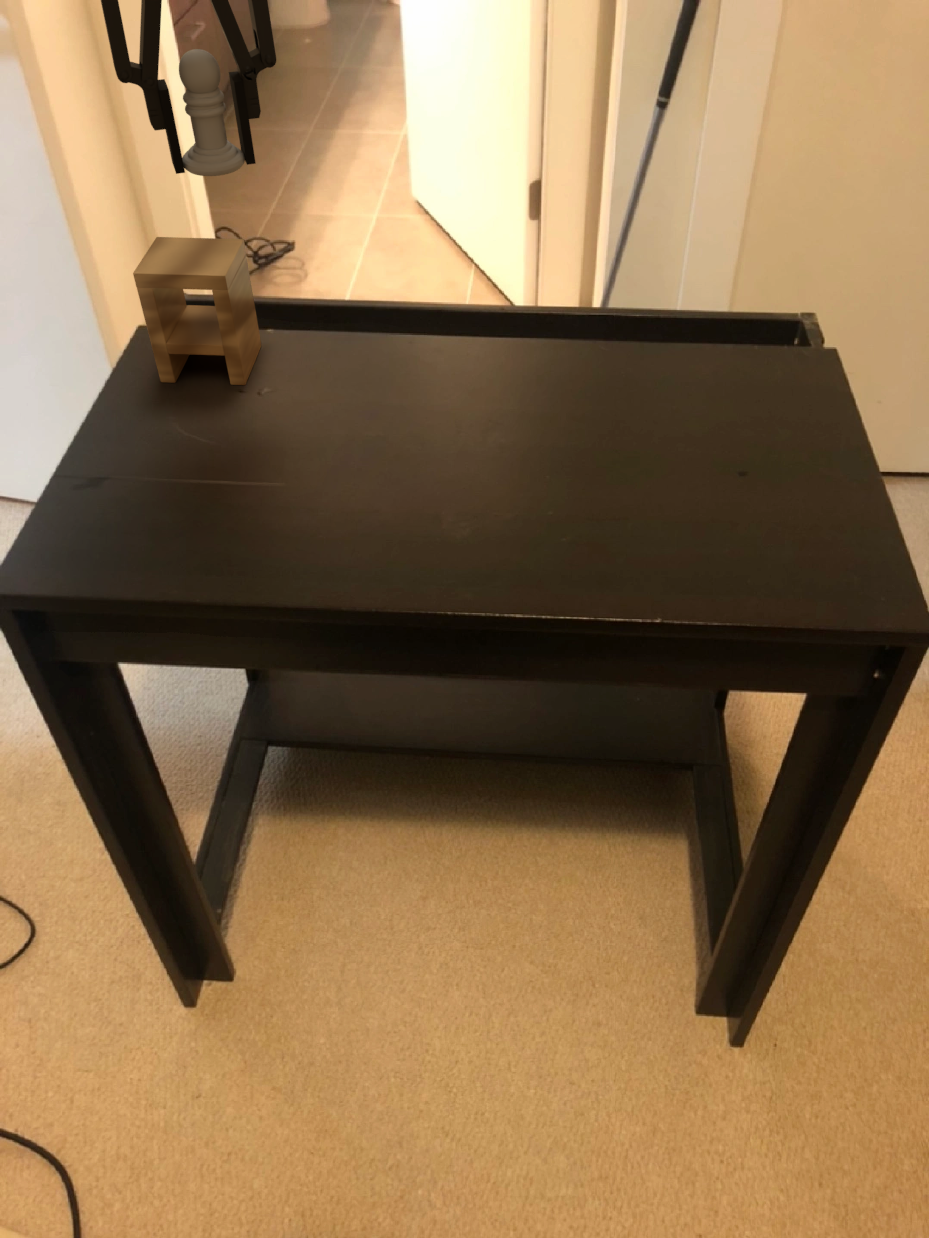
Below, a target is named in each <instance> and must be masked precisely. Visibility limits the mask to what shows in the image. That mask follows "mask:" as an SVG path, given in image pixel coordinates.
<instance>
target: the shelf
mask: <svg viewBox="0 0 929 1238" xmlns="http://www.w3.org/2000/svg"><path fill="white" fill-rule="evenodd" d="M248 262H249V261H248V257H247V249H246V243H245V238H217V237H216V238H212V237H210V238H209V237H206V238H205V237H179V236H178V237H173V236H156V238H154V240H153V242H152V243H151V245H150V246H149V247H148V250H146V252H145V254H144V256H143V257H142V259H141V260H140V262H139V263H138V265H137V266H136V268H135V270H133V272H132V276H133V279H134V283H135V287H136V290H137V294H138V298H139V299H138V300H139V302H140V307H141V310H142V314H143V318H144V321H145V326H146V329H147V333H148V338H149V342H150V344H151V349H152V353H153V357H154V361H155V366H156V368H157V373H158V376H159V381H160V383H170V384H171V383H172V384H175V383H176V382H177V381H178V379H179V377H180V374H181V373H182V371H183V369H184V366H185V365H186V363H187V361H188V358H189V357H190V355H191V356H192V355H193V356H195V355H197V356H224V358H225V363H226V369H227V373H228V378H229V383H230V385H232V386H233V385H234V386H246V385H247V382H248V379H249V377H250V375H251V373H252V370H253V367H254V365H255V362H256V360H257V358H258V355H259V353H260V350H261V348H262V341H261V336H260V328H259V323H258V316H257V311H256V304H255V299H254V293H253V292H254V291H253V286H252V281H251V275H250V268H249V263H248ZM184 290H198V291H199V290H200V291H201V290H203V291H211V293H212V297H213V303H214V305H197V304H196V305H194V304H187V301H186V296H185V292H184Z"/></svg>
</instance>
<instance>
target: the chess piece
mask: <svg viewBox="0 0 929 1238" xmlns="http://www.w3.org/2000/svg"><path fill="white" fill-rule="evenodd" d="M178 75H179V79H180V81H181V84H182V85H183V87H184V88H185V89H186V90H185V92H184V93H183V95H182V100H183V102H184V103H185V105H184V111H185V113H186V115H188V116H189V117H190V122H191V128H192V133H193V138H194V144H193V145H192V146H190V147H189V148H188V150H187V151H186V152H185V153H184V154H183V155H182V160H183V165H184V170H185V171H187V172H189V173H190V174H192V175H196V176H200V177H220V176H224V175H229V174H232V173H234V172H236V171H238V170H240V169H241V168H242V167H243V166H244V164H245V163H246V162H245V157H244V154H243V152H242V151H241V148H239V147H237V146H236V145H235V144H234V143H232V142H231V141H229V140H228V136H227V130H226V125H225V119H224V113H225V112H226V109H227V106H226V103H225V102H223V101H224V99H225V94H224V92H223V91H222V90H221V89H220V87H219V85H220V82H221V68H220V65H219V63H218V60H217V59H216V57H215V56H214V55H213V54H212V53H210V52H209V51H207V50H205V49H202V48H201V49H200V48H194V49H190V50H188V51H186V52H185V53H184V54H183V55H182V56H181V58H180V60H179V63H178Z"/></svg>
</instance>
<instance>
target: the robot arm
mask: <svg viewBox="0 0 929 1238" xmlns="http://www.w3.org/2000/svg"><path fill="white" fill-rule="evenodd" d="M140 1H141V3H140V5H141V6H140V27H139V28H140V30H139V32H140V33H139V55H138V59H139V60H138V63H137V62H133V61H131V60H130V53H129V50H128V44H127V38H126V33H125V28H124V24H123V19H122V14H121V8H120V3H119V0H100V5H101V9H102V13H103V20H104V23H105V28H106V34H107V38H108V39H107V40H108V42H109V48H110V53H111V57H112V63H113V68H114V71H115V75H116V78H117V79H118V81H119V82H121V83H122V84H132V85H136V86H138V87H139V88H141V91H142V93H143V97H144V98H143V99H144V101H145V102H144V103H145V107H146V110H147V111H146V112H147V116H148V120H149V123H150V125H151V127H152V129H153V130H154V131H162V130H163V131H164V130H165V134H166V139H167V144H168V149H169V154H170V158H171V163H172V166H173V169H174V172H175V174H176V175H177V174H185V173H186V169H185V168H184V165H183V160H182V157H183V155H182V149H181V145H180V140H179V135H178V130H177V126H176V120H175V119H176V118H175V115H174V109H173V104H172V101H171V94H170V90H169V87H168V85H167V82H166V79H165V78H164V79H159V66H160V65H159V62H160V44H161V43H160V42H161V26H162V25H161V22H162V3H163V2H162V1H163V0H140ZM209 1H210V4H211V6H212V9H213V11H214V14H215V16H216V18H217V21H218V23H219V26H220V28H221V31H222V33H223V35H224V38H225V40H226V43H227V45H228V48H229V50H230V53H231V55H232V57H233V60H234V63H235V64H236V66H237V70H236V71H229V72H228V77H229V83H230V90H231V96H232V103H233V109H234V115H235V121H236V127H237V134H238V139H239V147H240V150H241V151H242V152H243V154H244V157H245V162H244V163H245V164H246V166H247V165H255V164H256V163H257V162H256V156H255V150H254V143H253V137H252V130H251V124H250V120H253V119H260V117H261V112H262V110H261V104H260V97H259V90H258V83H257V78H258V75H259V73H260V72H262V71H264V70H265V69H267V68H273V67H275V65H276V63H277V55H276V48H275V42H274V35H273V28H272V22H271V15H270V9H269V2H268V0H247V4H248V10H249V16H250V17H249V18H250V22H251V29H252V34H253V40H254V46H255V47H254V49H252V50H250V51H249V49H248V46H247V44H246V42H245V39H244V36H243V34H242V31H241V30H240V29H241V28H240V27H239V24H238V22H237V19H236V16H235V14H234V12H233V9H232V6H231V4H230V2H229V0H209Z"/></svg>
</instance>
